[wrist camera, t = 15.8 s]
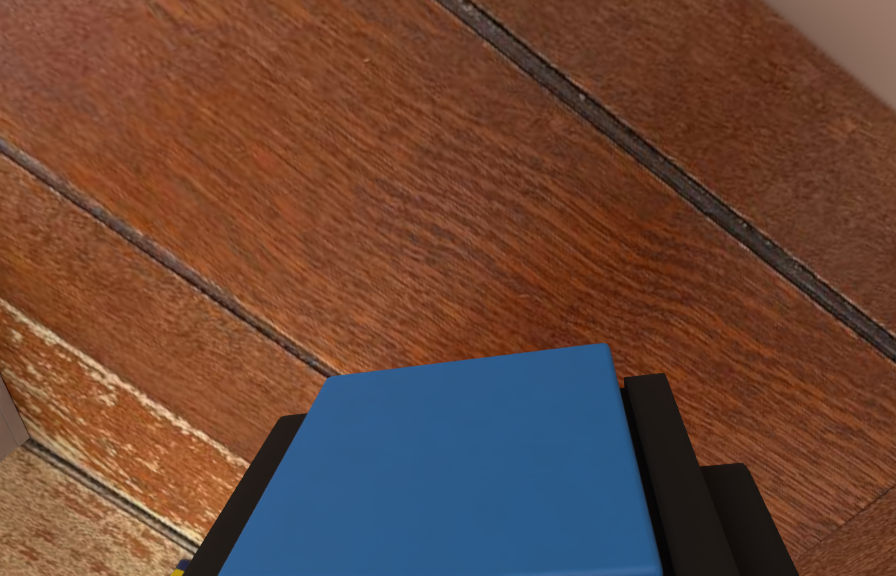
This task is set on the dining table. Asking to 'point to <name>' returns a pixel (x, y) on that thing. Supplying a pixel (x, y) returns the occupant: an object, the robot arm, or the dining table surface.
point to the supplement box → (181, 567)
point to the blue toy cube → (459, 476)
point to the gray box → (9, 424)
